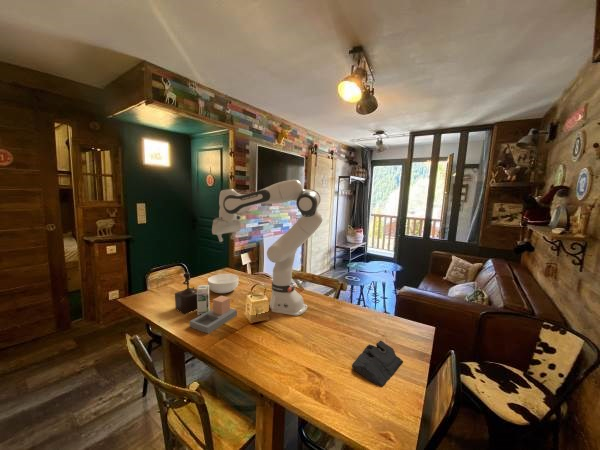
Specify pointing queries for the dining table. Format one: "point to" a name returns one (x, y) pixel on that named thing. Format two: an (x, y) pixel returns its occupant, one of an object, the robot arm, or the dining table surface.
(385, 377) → the dark slate chunk
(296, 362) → the dining table surface
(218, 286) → the bowl
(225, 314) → the tray
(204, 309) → the syrup box
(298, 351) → the dining table surface
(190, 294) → the manual coffee grinder
